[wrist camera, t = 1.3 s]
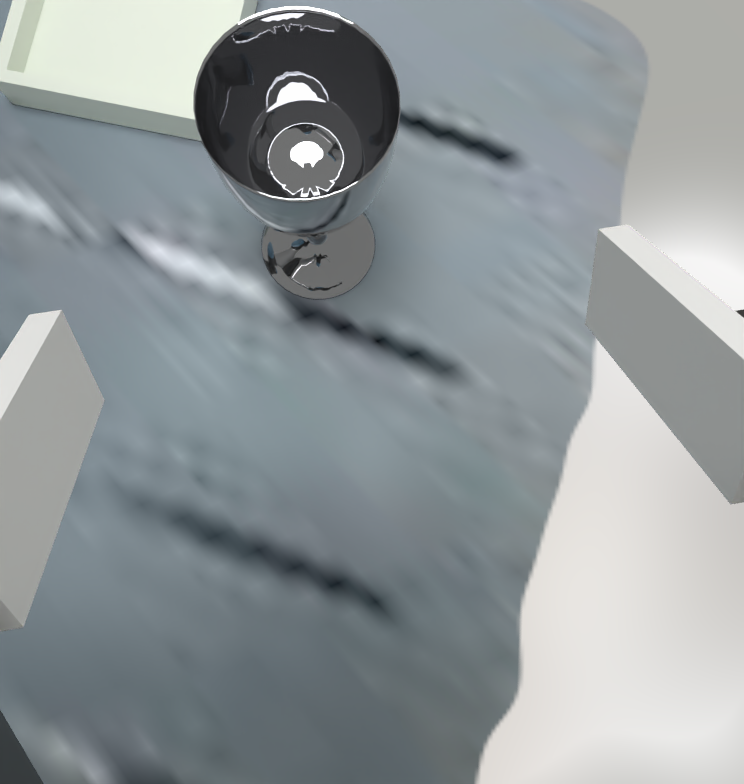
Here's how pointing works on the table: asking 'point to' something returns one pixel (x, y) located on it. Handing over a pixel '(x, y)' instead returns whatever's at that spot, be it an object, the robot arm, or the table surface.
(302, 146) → the wine glass
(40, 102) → the white tray
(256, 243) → the table surface
